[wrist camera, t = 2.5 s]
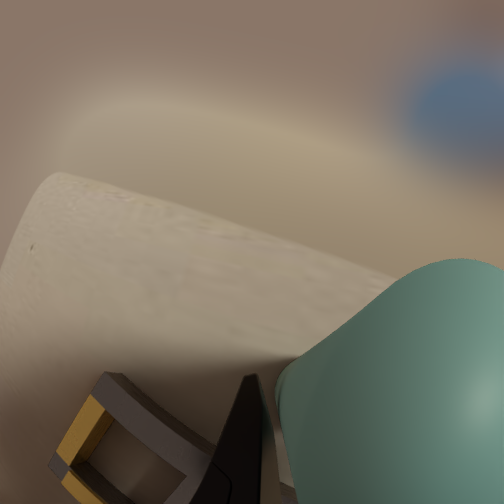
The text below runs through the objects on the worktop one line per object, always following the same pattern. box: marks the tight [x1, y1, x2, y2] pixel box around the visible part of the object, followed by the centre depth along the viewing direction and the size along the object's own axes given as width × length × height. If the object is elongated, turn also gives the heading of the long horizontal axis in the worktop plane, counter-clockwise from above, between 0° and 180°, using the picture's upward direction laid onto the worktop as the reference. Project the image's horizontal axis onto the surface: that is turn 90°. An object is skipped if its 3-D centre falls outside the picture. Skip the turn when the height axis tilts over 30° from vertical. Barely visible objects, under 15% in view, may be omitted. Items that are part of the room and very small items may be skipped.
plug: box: [275, 259, 504, 504], centre depth 8 cm, size 4×4×13 cm
